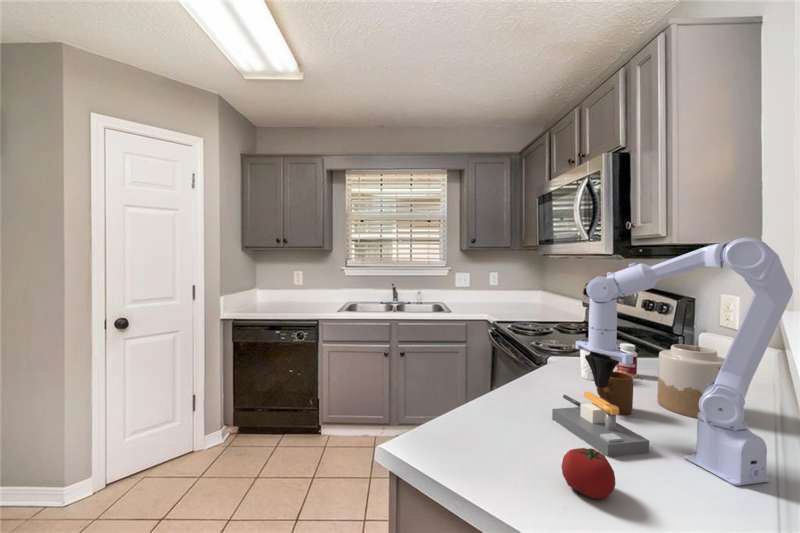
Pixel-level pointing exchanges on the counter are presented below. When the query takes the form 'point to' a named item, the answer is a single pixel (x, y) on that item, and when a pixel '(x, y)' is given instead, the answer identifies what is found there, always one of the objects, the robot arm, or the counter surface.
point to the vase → (685, 377)
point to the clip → (602, 403)
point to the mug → (619, 392)
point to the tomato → (588, 472)
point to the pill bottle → (628, 368)
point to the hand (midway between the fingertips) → (601, 386)
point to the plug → (589, 411)
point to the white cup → (585, 366)
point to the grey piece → (602, 433)
